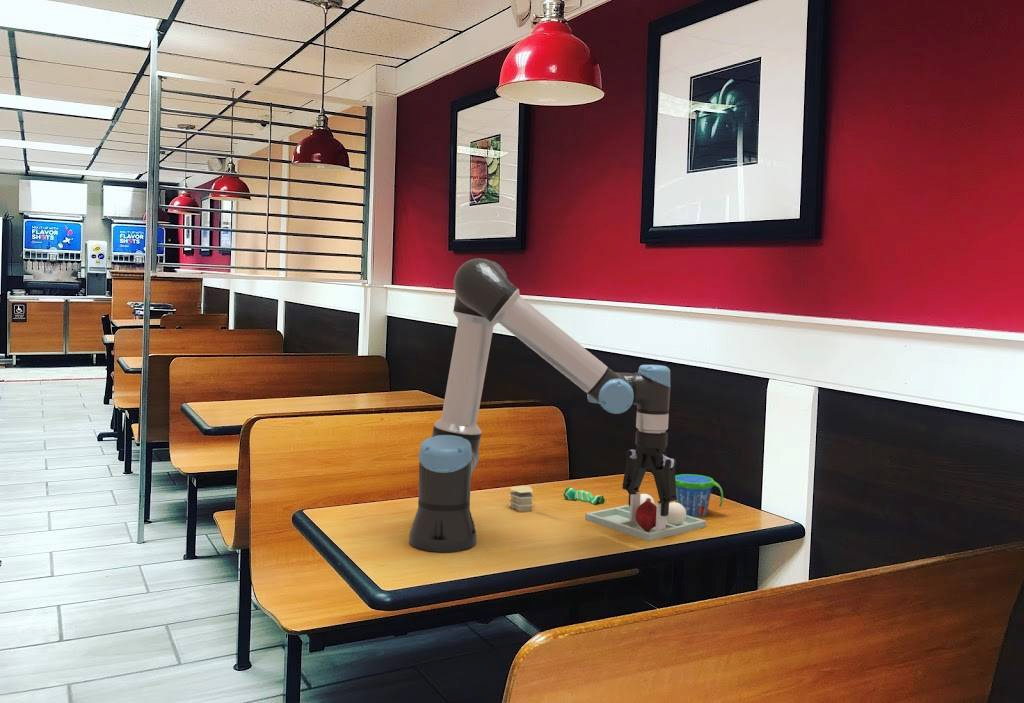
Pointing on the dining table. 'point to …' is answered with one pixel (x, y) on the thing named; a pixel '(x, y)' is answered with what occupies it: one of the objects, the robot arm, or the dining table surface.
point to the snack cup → (695, 493)
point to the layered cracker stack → (521, 498)
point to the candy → (582, 496)
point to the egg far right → (676, 514)
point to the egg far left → (645, 496)
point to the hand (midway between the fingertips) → (647, 524)
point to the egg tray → (620, 522)
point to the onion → (646, 515)
